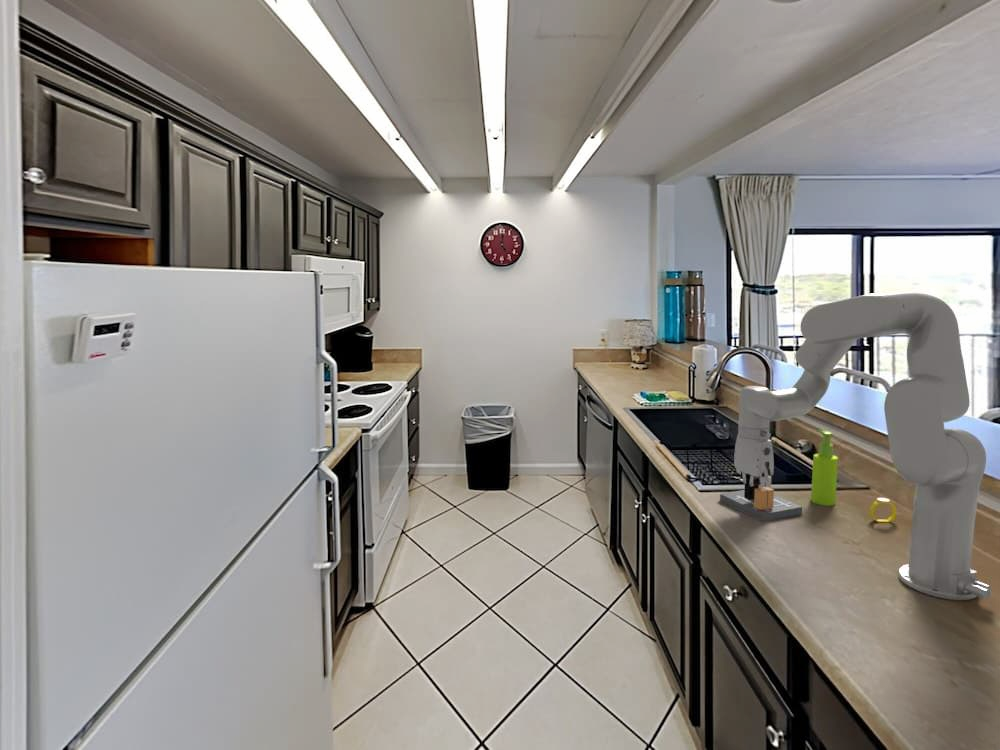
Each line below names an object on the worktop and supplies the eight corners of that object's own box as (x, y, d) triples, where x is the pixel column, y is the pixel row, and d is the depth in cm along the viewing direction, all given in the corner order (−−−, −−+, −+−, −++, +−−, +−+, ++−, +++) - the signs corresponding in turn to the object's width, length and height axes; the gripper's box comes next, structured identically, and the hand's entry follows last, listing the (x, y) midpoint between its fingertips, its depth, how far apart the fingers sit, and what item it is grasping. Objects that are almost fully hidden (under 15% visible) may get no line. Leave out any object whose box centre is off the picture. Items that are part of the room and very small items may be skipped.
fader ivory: (770, 494, 156) (771, 476, 155) (759, 496, 155) (759, 478, 154) (764, 491, 158) (764, 474, 158) (752, 493, 157) (753, 475, 156)
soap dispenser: (827, 496, 159) (831, 428, 156) (839, 505, 152) (843, 434, 149) (805, 496, 160) (809, 428, 157) (816, 505, 153) (820, 434, 150)
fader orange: (773, 507, 146) (774, 489, 145) (761, 510, 145) (761, 491, 144) (766, 504, 148) (766, 486, 148) (753, 506, 147) (754, 488, 147)
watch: (873, 524, 140) (873, 502, 139) (867, 520, 143) (867, 498, 142) (898, 523, 140) (898, 500, 139) (891, 518, 142) (891, 496, 142)
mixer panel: (802, 514, 147) (802, 506, 147) (762, 521, 143) (762, 513, 143) (756, 494, 162) (757, 487, 162) (720, 500, 158) (720, 493, 158)
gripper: (787, 437, 142) (783, 506, 145) (744, 425, 156) (742, 488, 159) (763, 440, 140) (760, 510, 143) (722, 428, 154) (720, 491, 157)
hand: (751, 498), depth 151 cm, fingers closed
